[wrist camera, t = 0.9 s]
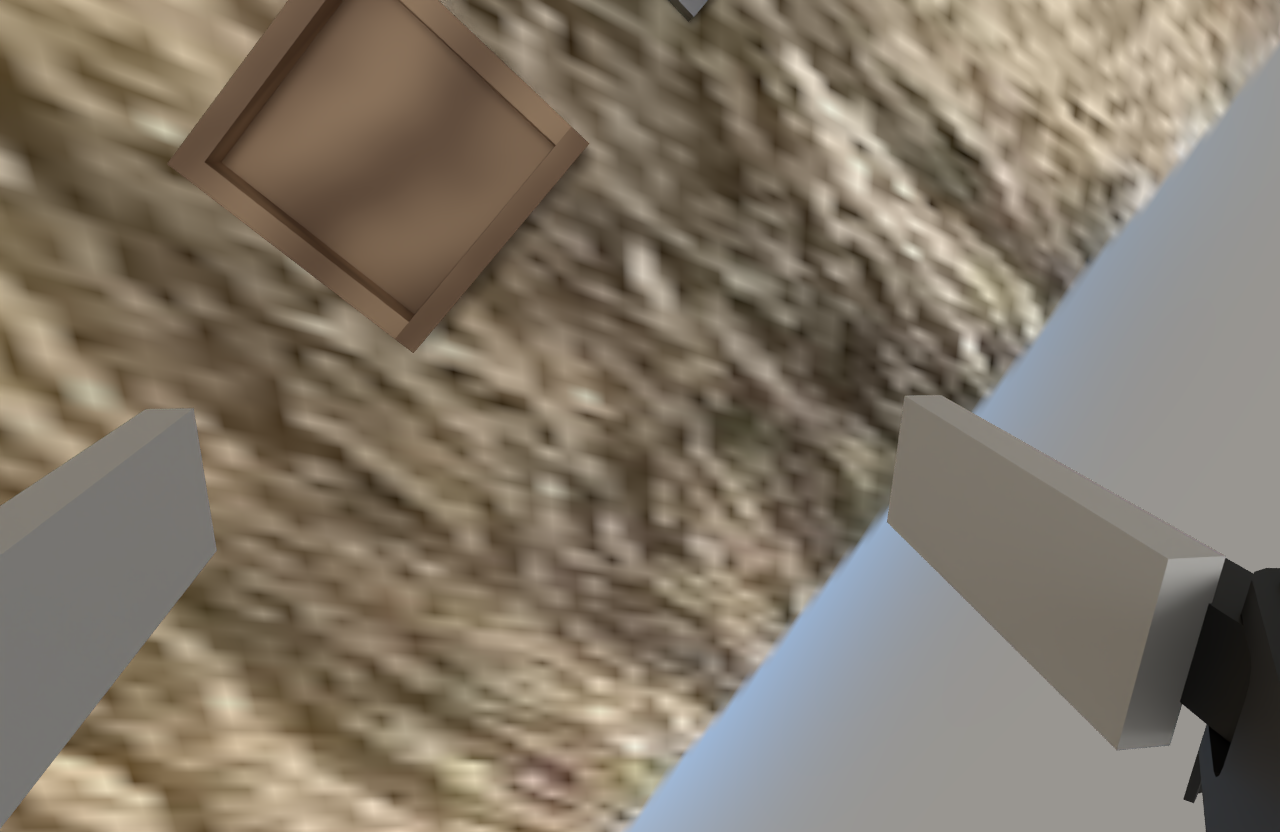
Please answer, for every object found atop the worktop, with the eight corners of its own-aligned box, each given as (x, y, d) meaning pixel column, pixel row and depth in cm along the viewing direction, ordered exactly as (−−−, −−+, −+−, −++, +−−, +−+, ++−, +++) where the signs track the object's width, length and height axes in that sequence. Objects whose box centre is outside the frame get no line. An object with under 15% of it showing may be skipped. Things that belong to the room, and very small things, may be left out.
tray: (193, 163, 33) (166, 163, 31) (364, -65, 32) (350, -84, 29) (421, 340, 37) (413, 353, 35) (585, 144, 35) (589, 143, 33)
